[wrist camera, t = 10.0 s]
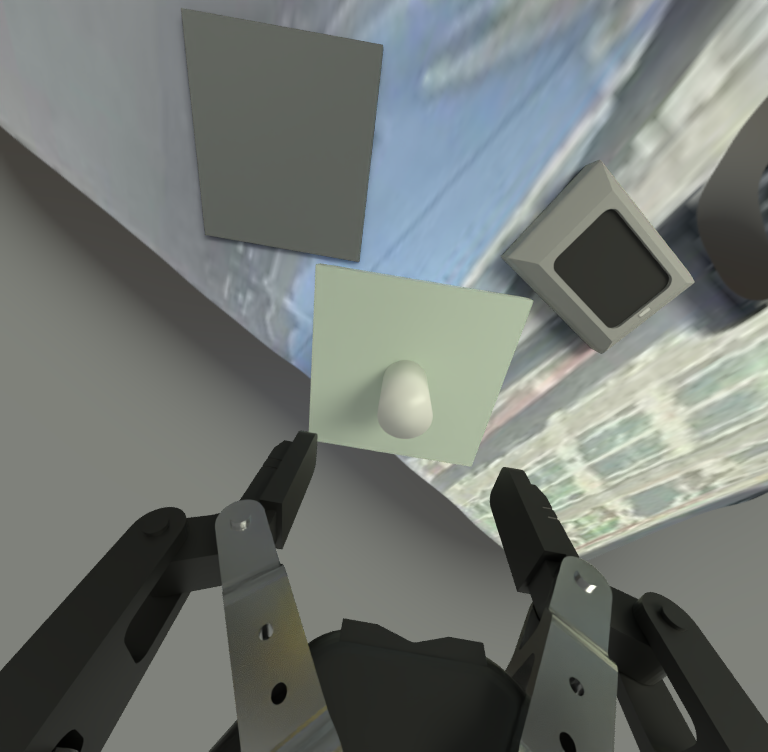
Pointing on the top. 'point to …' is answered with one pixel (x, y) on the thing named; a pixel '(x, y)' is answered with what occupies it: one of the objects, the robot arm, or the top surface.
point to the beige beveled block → (597, 260)
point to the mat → (282, 132)
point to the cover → (408, 362)
